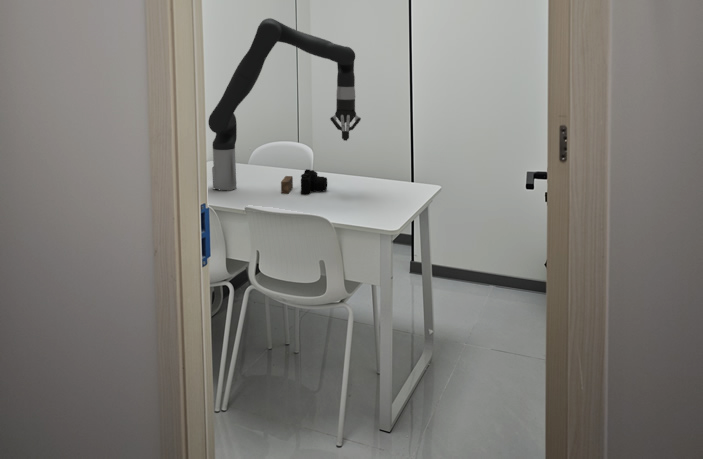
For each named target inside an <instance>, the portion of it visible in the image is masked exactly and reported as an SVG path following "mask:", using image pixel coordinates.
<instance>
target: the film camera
mask: <svg viewBox="0 0 703 459" xmlns="http://www.w3.org/2000/svg"><path fill="white" fill-rule="evenodd" d="M327 189H328V178H327V177H325V176H320V175H318V172H317V171H315V170H313V169H305V170H304V171H303V173H301V175H300V193H301V195H304V196H308V195H310V194H311V193H314V192H325V191H327Z"/></svg>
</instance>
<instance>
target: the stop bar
mask: <svg viewBox="0 0 703 459" xmlns="http://www.w3.org/2000/svg"><path fill="white" fill-rule="evenodd" d="M293 179H294V178H293V176H292V175H289V176H288V175H285V176H284V178H283V179H281V182H280V191H281V192H280V193H281V194H282V195H283V194H284V195H285V194H286V195H288V194H290V193H291V191H292V189H293V186H294V184H293Z"/></svg>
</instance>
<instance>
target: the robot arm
mask: <svg viewBox="0 0 703 459" xmlns="http://www.w3.org/2000/svg"><path fill="white" fill-rule="evenodd" d="M277 43H283V44H288V45H291V46H292V47H295V48H298V49H300V50H301V51H303V52H305V53H307V54H310V55H313V56H315V57H318V58H322V59H325V60H326V59H327V60H330V61H332V62H334V63H336V65H337V78H336V85H337V86H336V108H335V109H336V110H335V113H334V115H333V116H331V117H330V118H329V120H330V121H331V123H332V124H333V125H334V126H335V128H336V129H337V130H338V131H341V139H342V140H343V141H346V142H347V141H348V140H349V139H350V132H351V131H353V130H354V129H355V128H356V127H357V125H358V124H359V122H361V119H362V118H361V117H360V116H358V115H357V112H356V88H355V87H356V86H355V85H356V84H355V83H356V81H355V79H356V77H355V59H356V53H355V51H354V49H352V48H351V47H349V46H344V45H341V44H338V43H333V41H329V40H327V39H324V38H321V37H318V36H314V35H311V34H308V33H305V32H303V31H300V30H296V29H295V28H292V27H290V26H288V25H286V24H284V23H282V22H280V21H279V20H276V19H275V18H271V17H270V18H269V17H268V18H265V19H263V20H262V21H260V23H259V25H258V27H257V29H256V33H255V35H254V38H253V41H252V42H251V45H250V47H249V49H248V51H247V53H245V55H244V56H243V57H242V58H241V60H240V62H239V64H238V65H237V67H236V68H235V70H234V72H233V74H232V76H231V77H230V78H231V79H230V80H229V82H228V85H227V86H226V88H225V90H224V93H223V94H222V97H221V99H220V100H219V101H218V103H217V104H216V106H215V107H214V109H213V110H212V112H211V114H210V115H209V117H208V127H209V129H210V131H212V132H213V133H215V138H214V139H213V141H212V158H213V159H212V161H213V166H212V168H211V170H212V171H211V172H212V173H211V174H212V189H213V188H215V189H220V190H219V191H222V190H227V191H234V190H235V189H237V166H236V165H237V164H236V160H237V159H236V142H237V135H238V134H237V132H238V131H237V128H238V127H237V117H236V114H235V111H236V109H237V108H238V106H239V105H240V104H241V103H243V101H244V99H246V98H247V96H248V95H249V94H250V93H251V91H252V90H253V88H254V87H255V84H256V82H257V81H258V78H259V76H260V75H261V72H262V70H263V67H264V64H265V61H266V59H267V57H268V56H269V55H270V53H271V51H272V50H273V49H274V47H275V45H276V44H277ZM337 120H338V121H339V122H340V123H338V121H337ZM353 120H354V121H355V122H353ZM352 122H353V124H352V125H351V123H352ZM215 189H214V190H215ZM233 189H234V190H233Z"/></svg>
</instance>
